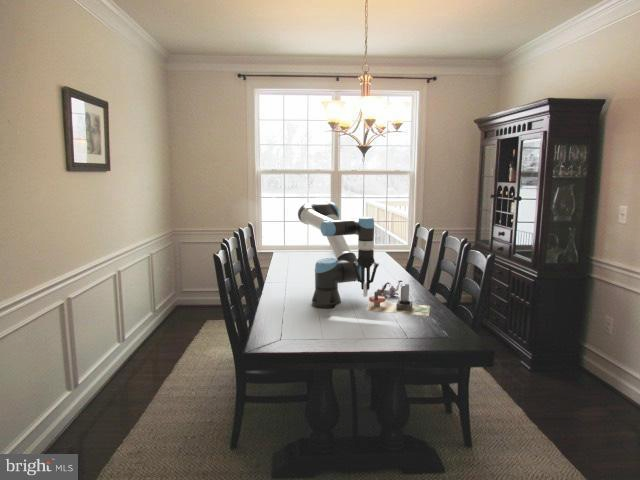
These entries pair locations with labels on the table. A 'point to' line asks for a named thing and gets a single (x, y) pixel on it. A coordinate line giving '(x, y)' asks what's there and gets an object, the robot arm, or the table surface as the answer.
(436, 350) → the table surface
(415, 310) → the board
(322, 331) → the table surface
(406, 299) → the peg
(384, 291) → the figurine
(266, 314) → the table surface
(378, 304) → the handwheel
